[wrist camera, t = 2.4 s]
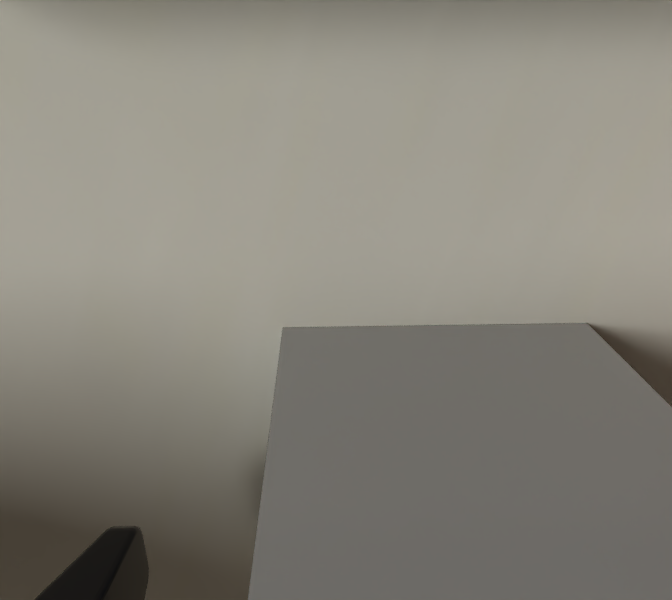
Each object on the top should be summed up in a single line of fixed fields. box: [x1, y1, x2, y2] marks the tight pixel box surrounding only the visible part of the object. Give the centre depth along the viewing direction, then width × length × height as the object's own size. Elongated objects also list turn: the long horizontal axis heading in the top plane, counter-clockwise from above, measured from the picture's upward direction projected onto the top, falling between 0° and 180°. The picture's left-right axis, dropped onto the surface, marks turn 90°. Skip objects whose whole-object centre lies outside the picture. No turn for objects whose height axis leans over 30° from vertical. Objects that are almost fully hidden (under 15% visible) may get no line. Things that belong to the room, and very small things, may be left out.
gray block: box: [248, 323, 672, 600], centre depth 7 cm, size 5×5×6 cm
